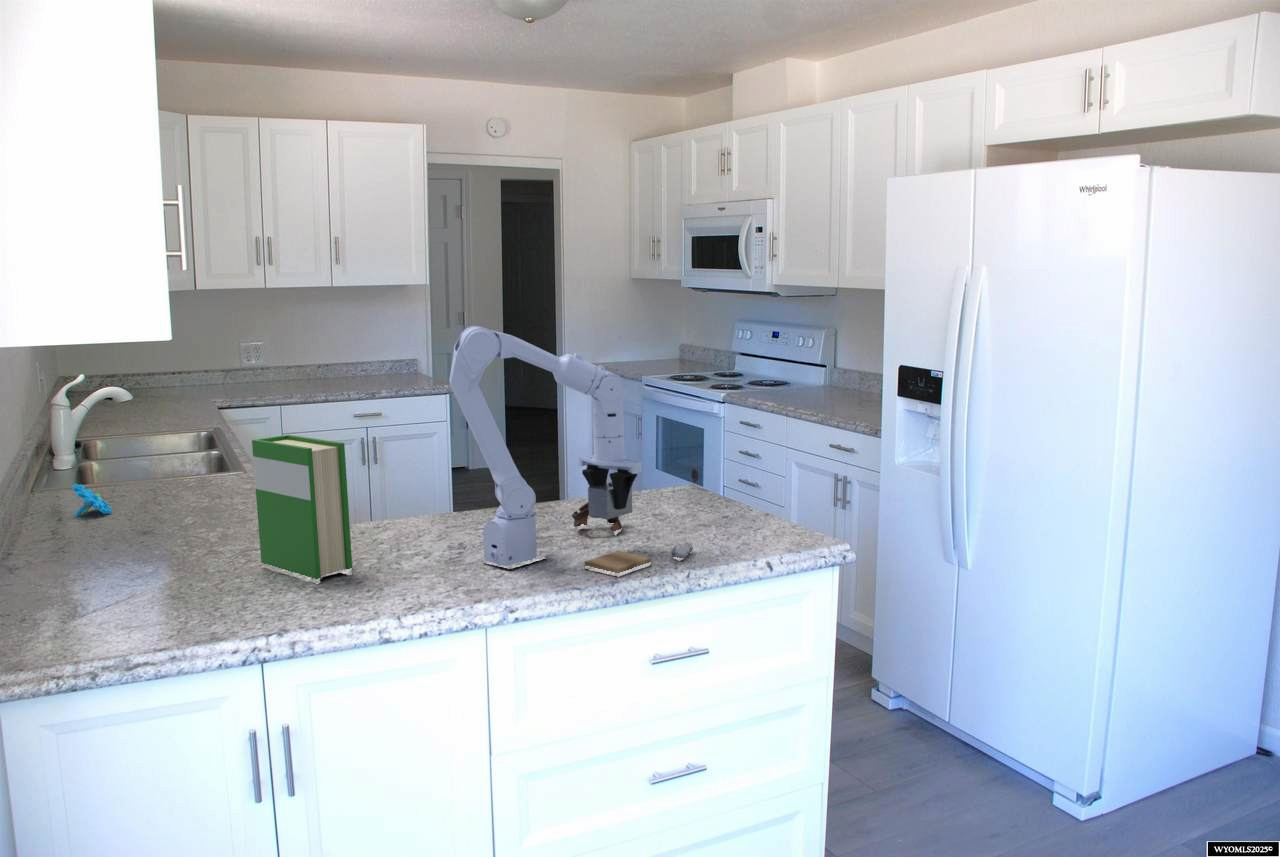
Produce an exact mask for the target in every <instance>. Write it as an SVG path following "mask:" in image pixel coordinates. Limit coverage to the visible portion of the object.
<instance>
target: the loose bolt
mask: <svg viewBox="0 0 1280 857" xmlns="http://www.w3.org/2000/svg"><path fill="white" fill-rule="evenodd" d="M692 550H693V551H694V546H693V545H692V544H691V543H686V544H685V545H681V544H678V545H676V546H674V548H672V550H671V552H670V553H671V557H672V558H673V557H677V558H678V557H679V558H685V559H686V558H687V557H688V556H687V554H689V553H690V552H691V551H692ZM693 551H692V552H693ZM692 552H691V553H692ZM691 553H690V554H691ZM690 554H689V555H690Z"/></svg>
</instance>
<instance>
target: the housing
mask: <svg viewBox="0 0 1280 857" xmlns="http://www.w3.org/2000/svg"><path fill="white" fill-rule="evenodd" d="M587 496H588V498H587V499H588V501H587V503H588V505H589V516H588V517H590V516H592V517H597V518H596V519H604V520H607V519H611V518H614V517H618V516H619V517H621V516H624V515H628V514H631V513H633V485H632V486H631V489H630V492H629V495H628V499H627V504H626V508H623V509H620V510H618V509H616V506H615V496H614V488H613V484H612V481H607V482H606V483H604V484H600V485H596V486H591V487H590V486H588V487H587ZM592 517H591V518H592Z"/></svg>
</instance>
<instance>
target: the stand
mask: <svg viewBox="0 0 1280 857" xmlns="http://www.w3.org/2000/svg"><path fill="white" fill-rule="evenodd" d="M649 562H651V563H652V557H648V556H643V555H639V554H634V553H630V552H625V551H620V550H616V551H613V552H610V553H608V554H607V553H606V554H603V555H601V556H597V557H595V558H591V559H588V560H584V567H585V566H590V567H594V568H598V569H603V570H606V571H611V572H615V573H620V572H623V571H626V570H629V569H632V568H634V567H637V566H640V565H643V564H646V563H649Z"/></svg>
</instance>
